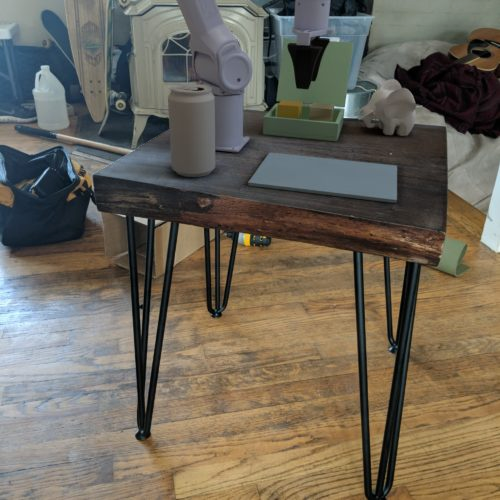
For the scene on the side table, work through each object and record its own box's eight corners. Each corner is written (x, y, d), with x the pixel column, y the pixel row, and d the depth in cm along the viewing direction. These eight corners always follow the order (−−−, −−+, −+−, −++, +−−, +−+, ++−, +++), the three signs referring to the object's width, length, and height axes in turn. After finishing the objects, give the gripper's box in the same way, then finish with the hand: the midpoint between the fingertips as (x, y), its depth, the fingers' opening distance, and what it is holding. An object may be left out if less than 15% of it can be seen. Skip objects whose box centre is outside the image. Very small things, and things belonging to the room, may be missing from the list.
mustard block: (276, 126, 96) (277, 104, 94) (280, 121, 99) (281, 99, 97) (297, 128, 95) (299, 106, 93) (300, 122, 99) (302, 101, 97)
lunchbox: (336, 141, 91) (338, 123, 89) (262, 134, 93) (263, 116, 92) (342, 125, 100) (344, 108, 99) (275, 119, 103) (276, 103, 102)
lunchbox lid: (353, 42, 97) (353, 46, 100) (283, 38, 100) (286, 42, 103) (344, 106, 98) (345, 109, 101) (276, 100, 101) (278, 103, 104)
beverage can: (208, 180, 72) (207, 93, 66) (165, 176, 73) (160, 90, 68) (220, 166, 78) (220, 84, 72) (179, 162, 79) (176, 81, 73)
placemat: (247, 185, 71) (247, 182, 71) (269, 155, 83) (269, 152, 83) (396, 203, 67) (397, 199, 67) (396, 168, 79) (397, 165, 79)
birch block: (308, 129, 95) (310, 107, 93) (311, 123, 98) (313, 102, 96) (329, 131, 94) (332, 109, 92) (332, 125, 97) (334, 104, 95)
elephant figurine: (350, 124, 102) (356, 77, 97) (411, 125, 101) (419, 79, 97) (358, 137, 93) (364, 87, 89) (424, 139, 93) (434, 89, 89)
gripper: (332, 2, 77) (323, 94, 84) (342, -2, 90) (333, 79, 96) (286, 0, 79) (280, 91, 85) (302, -4, 91) (296, 76, 98)
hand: (306, 84), depth 91 cm, fingers open, 7 cm apart
